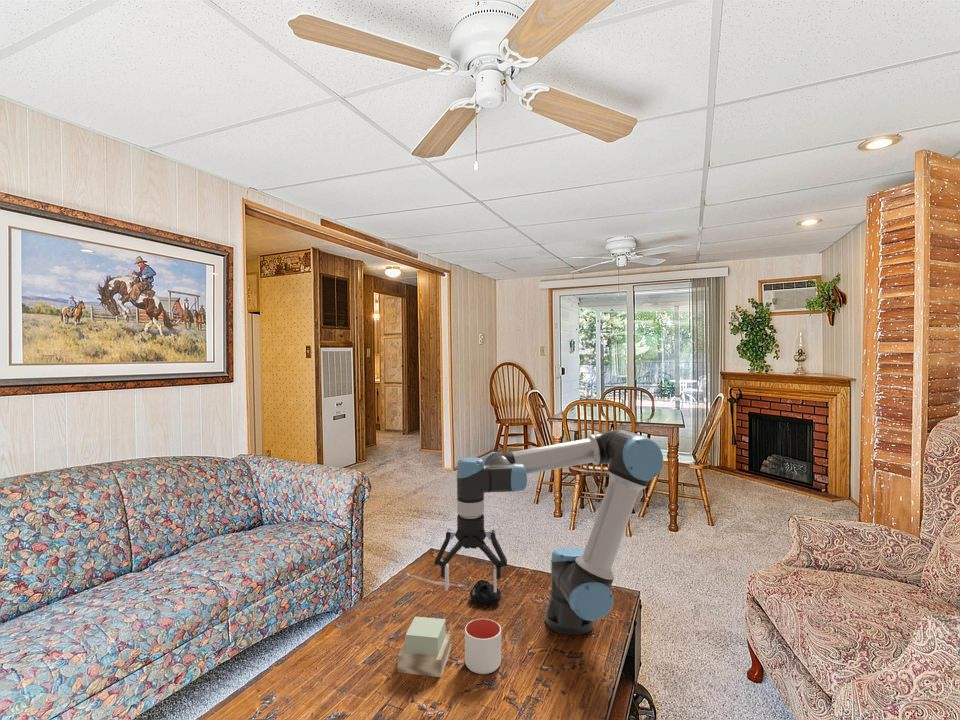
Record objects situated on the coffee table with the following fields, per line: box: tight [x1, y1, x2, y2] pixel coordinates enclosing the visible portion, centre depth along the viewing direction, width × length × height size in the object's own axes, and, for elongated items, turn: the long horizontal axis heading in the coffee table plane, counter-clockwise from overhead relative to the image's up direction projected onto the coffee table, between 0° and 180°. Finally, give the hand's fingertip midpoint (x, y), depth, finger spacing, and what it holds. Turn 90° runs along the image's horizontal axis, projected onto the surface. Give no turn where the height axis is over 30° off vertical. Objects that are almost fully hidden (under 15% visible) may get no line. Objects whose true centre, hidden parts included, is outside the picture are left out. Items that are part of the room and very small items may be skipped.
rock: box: [469, 579, 502, 605], centre depth 168 cm, size 9×10×10 cm
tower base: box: [397, 633, 452, 678], centre depth 135 cm, size 12×12×5 cm
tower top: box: [405, 616, 446, 656], centre depth 135 cm, size 9×9×5 cm
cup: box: [464, 618, 502, 675], centre depth 133 cm, size 10×10×10 cm
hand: (471, 589), depth 135 cm, fingers open, 13 cm apart
